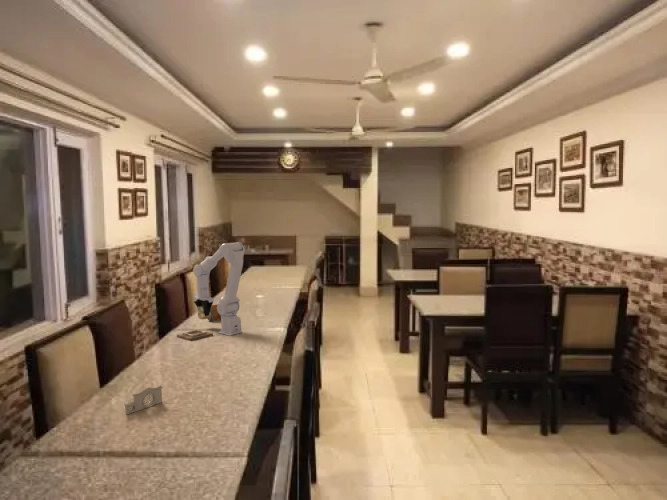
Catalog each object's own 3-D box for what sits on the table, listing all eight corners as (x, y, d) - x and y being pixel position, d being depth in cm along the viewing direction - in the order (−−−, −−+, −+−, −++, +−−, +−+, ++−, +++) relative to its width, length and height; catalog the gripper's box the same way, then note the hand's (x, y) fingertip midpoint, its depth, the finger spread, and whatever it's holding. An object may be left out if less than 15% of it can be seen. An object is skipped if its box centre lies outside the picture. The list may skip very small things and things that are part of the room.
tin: (208, 322, 264) (207, 306, 263) (204, 321, 265) (203, 306, 265) (230, 316, 275) (229, 301, 275) (226, 316, 277) (225, 301, 277)
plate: (213, 335, 235) (212, 331, 235) (190, 341, 227) (190, 337, 226) (198, 331, 244) (198, 328, 243) (176, 336, 235) (176, 333, 234)
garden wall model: (127, 415, 146) (125, 395, 146) (124, 413, 148) (122, 394, 147) (163, 402, 156) (162, 383, 155) (160, 401, 157) (159, 382, 156)
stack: (210, 317, 250) (210, 306, 250) (203, 319, 247) (202, 307, 246) (205, 316, 253) (205, 305, 253) (197, 318, 250) (197, 306, 249)
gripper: (187, 288, 251) (189, 314, 252) (204, 290, 241) (205, 318, 242) (199, 286, 256) (201, 312, 257) (216, 288, 246) (217, 315, 247)
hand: (204, 314), depth 250 cm, fingers closed on stack, 4 cm apart
